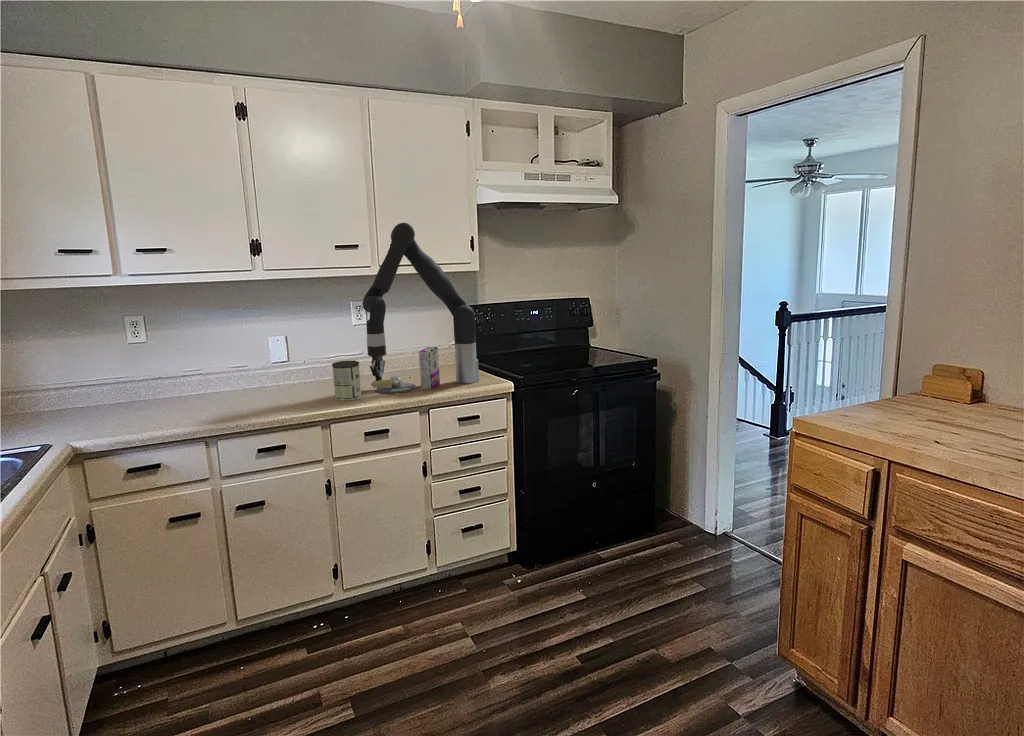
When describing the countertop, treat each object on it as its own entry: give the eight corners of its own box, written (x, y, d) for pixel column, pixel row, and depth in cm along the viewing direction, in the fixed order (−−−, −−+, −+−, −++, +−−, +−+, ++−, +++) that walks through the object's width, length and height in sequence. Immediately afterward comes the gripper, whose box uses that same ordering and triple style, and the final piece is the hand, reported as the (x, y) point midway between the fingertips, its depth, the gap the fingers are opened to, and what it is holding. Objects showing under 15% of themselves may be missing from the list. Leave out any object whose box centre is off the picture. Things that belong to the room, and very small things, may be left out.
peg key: (399, 384, 250) (398, 372, 249) (402, 387, 246) (401, 374, 245) (369, 388, 245) (368, 376, 244) (372, 390, 240) (371, 378, 239)
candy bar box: (429, 383, 257) (427, 346, 253) (440, 383, 256) (438, 346, 252) (420, 389, 246) (418, 350, 243) (431, 389, 245) (429, 351, 242)
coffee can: (336, 395, 239) (333, 361, 236) (362, 393, 241) (360, 359, 238) (333, 401, 229) (330, 366, 226) (360, 400, 231) (357, 364, 228)
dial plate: (409, 383, 258) (409, 380, 257) (420, 390, 244) (420, 388, 243) (372, 387, 251) (372, 385, 250) (382, 395, 237) (382, 393, 236)
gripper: (372, 341, 251) (375, 381, 254) (362, 346, 238) (365, 388, 241) (390, 341, 250) (392, 381, 254) (380, 346, 237) (382, 388, 241)
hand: (379, 384), depth 248 cm, fingers closed
